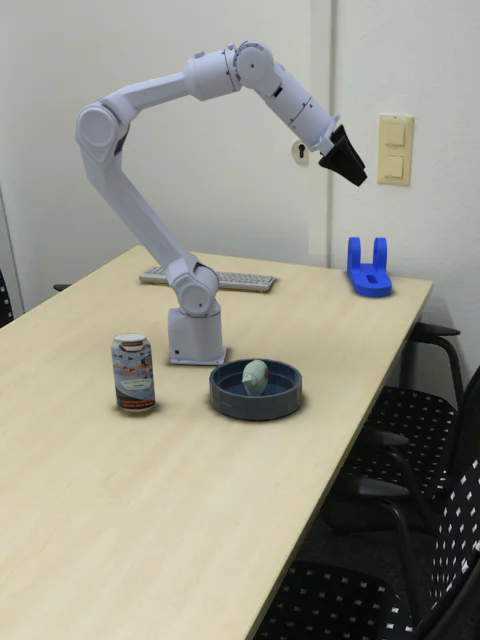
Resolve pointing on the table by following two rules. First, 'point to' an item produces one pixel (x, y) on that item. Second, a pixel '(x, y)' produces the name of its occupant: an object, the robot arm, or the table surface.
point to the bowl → (272, 403)
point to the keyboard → (224, 277)
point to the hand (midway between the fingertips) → (362, 176)
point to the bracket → (368, 269)
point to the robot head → (255, 377)
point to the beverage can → (133, 372)
